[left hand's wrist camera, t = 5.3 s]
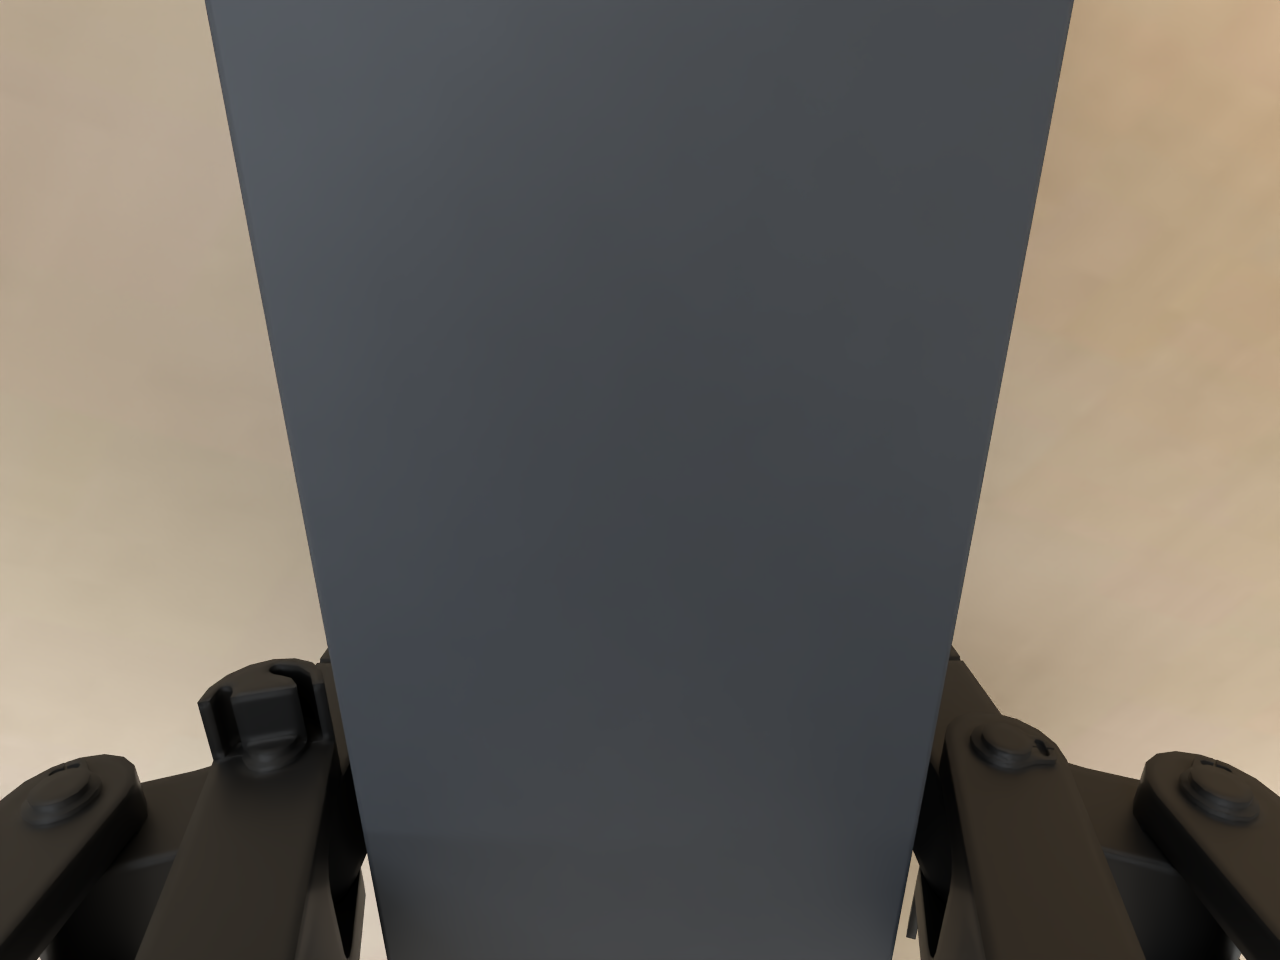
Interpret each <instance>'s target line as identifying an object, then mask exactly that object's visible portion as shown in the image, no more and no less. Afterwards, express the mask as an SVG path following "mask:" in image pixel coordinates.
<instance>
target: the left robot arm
mask: <svg viewBox="0 0 1280 960" xmlns="http://www.w3.org/2000/svg"><path fill="white" fill-rule="evenodd" d="M198 707H199V710H200V714H201V717H202V721H203V725H204V728H205V732H206V735H207V739H208V742H209V746H210V750H211V753H212V757H213V760H214V761H213V763H212V766H210V767H206V768H203V769H199V770H196V771H192V772H188V773H183V774H179V775H174V776H170V777H165V778H161V779H157V780H152V781H148V782H143V783H140V781H139V778H138V775H137V771H136V768H135V765H133V764H132V763H131V762H130V761H128V760H127V759H126V758H125V757H121V756H114V755H107V754H103V755H96V756H89V757H82V758H78V759H75V760H72V761H68V762H66V763H62V764H60V765H57V766H54V767H52V768H50V769H48V770H46V771H44V772H42V773H40V774H38V775H37V776H35V777H33V778H31V779H29V780H27V781H25V782H24V783H23V784H21V785H20V786H19V787H17V788H16V789H15V790H13V791H12V792H11V793H10V794H8V795H7V796H6V797H4V798H3V799H2V800H1V801H0V960H37V959H38V958H39V956H40V959H41V960H359V958H360V948H361V938H362V927H363V917H364V907H365V896H366V895H365V888H364V881H363V876H362V871H361V866H362V863H363V861H364V859H365V856H366V854H367V850H366V844H365V839H364V834H363V829H362V823H361V818H360V813H359V808H358V802H357V797H356V792H355V786H354V781H353V776H352V771H351V765H350V760H349V755H348V750H347V744H346V739H345V734H344V729H343V723H342V718H341V713H340V708H339V702H338V697H337V692H336V687H335V681H334V676H333V671H332V666H331V660H330V655H329V650H328V649H327V650H326V651H325V653H324V654H323V656H322V657H321V658H320V663H317V664H316V665H315V664H313V663H312V662H308V661H304V660H300V659H295V658H293V659H273V660H269V661H265V662H261V663H256V664H252V665H249V666H247V667H244V668H242V669H240V670H238V671H235V672H233V673H231V674H229V675H227V676H225V677H224V678H222V679H221V680H220V681H218V682H217V683H215V684H214V685H213V686H211V687H210V688H209V689H208V690H207V691H206V692H205V694H204V695H203V696H202V697H201V699H200V700H199V701H198ZM913 851H914V854H915V856H916V858H917V861H918V863H919V865H920V866H919V871H918V876H917V881H916V886H915V891H914V896H913V901H912V906H911V912H910V917H909V922H908V928H907V935H906V937H908V938H912V939H916V934H917V929H918V936H919V946H920V957H921V960H1240V959H1239V957H1240V955H1241V953H1242V955H1243V956H1244V957H1245V958H1246V960H1280V797H1279V796H1278V795H1277V794H1275V793H1274V792H1273V791H1271V790H1270V789H1269V788H1267V787H1266V786H1265V785H1264V784H1262V783H1261V782H1260V781H1258V780H1257V779H1256V778H1254V777H1252V776H1250V775H1248V774H1246V773H1244V772H1242V771H1240V770H1239V769H1237V768H1235V767H1233V766H1231V765H1229V764H1226V763H1224V762H1221V761H1219V760H1215V759H1213V758H1209V757H1206V756H1203V755H1199V754H1192V753H1185V752H1178V751H1173V752H1166V753H1159V754H1156V755H1155V756H1153V757H1152V758H1151V759H1150V760H1148V761H1147V762H1146V764H1145V767H1144V770H1143V773H1142V776H1141V779H1140V780H1137V779H1132V778H1128V777H1123V776H1119V775H1114V774H1110V773H1105V772H1101V771H1096V770H1092V769H1087V768H1084V767H1080V766H1077V765H1073V764H1070V763H1068V762H1067V759H1066V758H1065V757H1064V755H1063V754H1062V752H1061V751H1060V749H1059V748H1058V746H1057V745H1056V744H1055V743H1054V742H1053V741H1052V740H1050V739H1049V738H1048V737H1047V736H1046V735H1044V734H1043V733H1042V732H1041V731H1039V730H1038V729H1036V728H1034V727H1032V726H1030V725H1028V724H1026V723H1024V722H1022V721H1020V720H1018V719H1015V718H1011V717H1007V716H1004V715H1001V713H1000V712H999V711H998V709H997V708H996V706H995V705H994V704H993V702H992V701H991V699H990V698H989V697H988V695H987V694H986V692H985V691H984V690H983V688H982V687H981V685H980V684H979V683H978V681H977V680H976V678H975V677H974V676H973V674H972V673H971V671H970V670H969V669H968V667H967V666H966V664H965V663H964V662H963V661H960V656H959V655H958V653H957V652H956V650H955V649H954V648H953V646H952V645H951V650H950V656H949V661H948V666H947V672H946V677H945V682H944V687H943V693H942V698H941V703H940V708H939V714H938V719H937V724H936V730H935V735H934V740H933V745H932V751H931V756H930V761H929V766H928V772H927V777H926V782H925V787H924V793H923V798H922V803H921V809H920V814H919V819H918V824H917V830H916V835H915V840H914V845H913Z"/></svg>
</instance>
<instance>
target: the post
mask: <svg viewBox="0 0 1280 960" xmlns="http://www.w3.org/2000/svg"><path fill="white" fill-rule="evenodd" d="M1073 3H1074V0H205V4H206V9H207V15H208V20H209V25H210V30H211V36H212V41H213V46H214V51H215V57H216V62H217V67H218V72H219V78H220V83H221V88H222V93H223V99H224V104H225V109H226V114H227V120H228V125H229V130H230V135H231V141H232V146H233V151H234V156H235V162H236V167H237V172H238V177H239V183H240V188H241V193H242V198H243V204H244V209H245V214H246V219H247V225H248V230H249V235H250V240H251V246H252V251H253V256H254V261H255V267H256V272H257V277H258V282H259V288H260V293H261V298H262V303H263V309H264V314H265V319H266V324H267V330H268V335H269V340H270V345H271V351H272V356H273V361H274V366H275V372H276V377H277V382H278V387H279V393H280V398H281V403H282V408H283V414H284V419H285V424H286V429H287V435H288V440H289V445H290V450H291V456H292V461H293V466H294V471H295V477H296V482H297V487H298V492H299V498H300V503H301V508H302V513H303V519H304V524H305V529H306V534H307V540H308V545H309V550H310V555H311V561H312V566H313V571H314V576H315V582H316V587H317V592H318V597H319V603H320V608H321V613H322V618H323V624H324V629H325V634H326V639H327V645H328V650H329V655H330V660H331V666H332V671H333V676H334V681H335V687H336V692H337V697H338V702H339V708H340V713H341V718H342V723H343V729H344V734H345V739H346V744H347V750H348V755H349V760H350V765H351V771H352V776H353V781H354V786H355V792H356V797H357V802H358V808H359V813H360V818H361V823H362V829H363V834H364V839H365V844H366V850H367V855H368V860H369V865H370V871H371V876H372V881H373V886H374V892H375V897H376V902H377V907H378V913H379V918H380V923H381V928H382V934H383V939H384V944H385V949H386V955H387V960H892V956H893V951H894V946H895V940H896V935H897V930H898V924H899V919H900V914H901V909H902V903H903V898H904V893H905V888H906V882H907V877H908V872H909V866H910V861H911V856H912V851H913V845H914V840H915V835H916V830H917V824H918V819H919V814H920V809H921V803H922V798H923V793H924V787H925V782H926V777H927V772H928V766H929V761H930V756H931V751H932V745H933V740H934V735H935V730H936V724H937V719H938V714H939V708H940V703H941V698H942V693H943V687H944V682H945V677H946V672H947V666H948V661H949V656H950V650H951V645H952V640H953V635H954V629H955V624H956V619H957V614H958V608H959V603H960V598H961V593H962V587H963V582H964V577H965V571H966V566H967V561H968V556H969V550H970V545H971V540H972V535H973V529H974V524H975V519H976V514H977V508H978V503H979V498H980V492H981V487H982V482H983V477H984V471H985V466H986V461H987V456H988V450H989V445H990V440H991V435H992V429H993V424H994V419H995V413H996V408H997V403H998V398H999V392H1000V387H1001V382H1002V377H1003V371H1004V366H1005V361H1006V355H1007V350H1008V345H1009V340H1010V334H1011V329H1012V324H1013V319H1014V313H1015V308H1016V303H1017V298H1018V292H1019V287H1020V282H1021V276H1022V271H1023V266H1024V261H1025V255H1026V250H1027V245H1028V240H1029V234H1030V229H1031V224H1032V219H1033V213H1034V208H1035V203H1036V197H1037V192H1038V187H1039V182H1040V176H1041V171H1042V166H1043V161H1044V155H1045V150H1046V145H1047V139H1048V134H1049V129H1050V124H1051V118H1052V113H1053V108H1054V103H1055V97H1056V92H1057V87H1058V82H1059V76H1060V71H1061V66H1062V60H1063V55H1064V50H1065V45H1066V39H1067V34H1068V29H1069V24H1070V18H1071V13H1072V8H1073Z"/></svg>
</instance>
